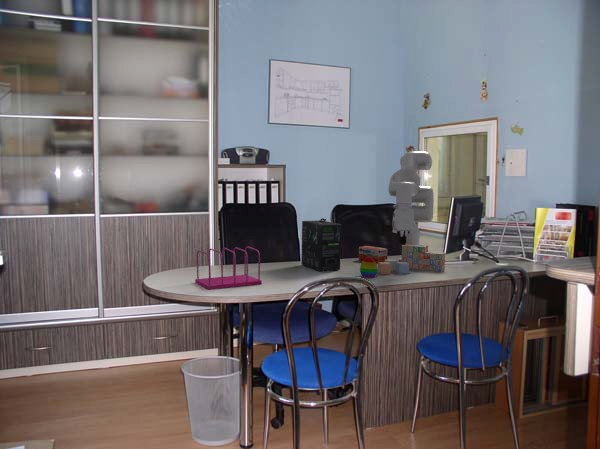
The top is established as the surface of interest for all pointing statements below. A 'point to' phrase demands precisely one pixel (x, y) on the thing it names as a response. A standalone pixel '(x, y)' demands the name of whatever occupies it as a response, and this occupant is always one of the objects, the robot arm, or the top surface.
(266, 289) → the top surface
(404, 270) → the slate-blue cube
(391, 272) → the charcoal mat
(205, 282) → the file sorter
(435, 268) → the stack of blocks
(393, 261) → the sage cube
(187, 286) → the top surface
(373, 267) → the decorative egg
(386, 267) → the terracotta cube
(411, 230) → the robot arm
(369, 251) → the medicine box
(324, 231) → the headset box
